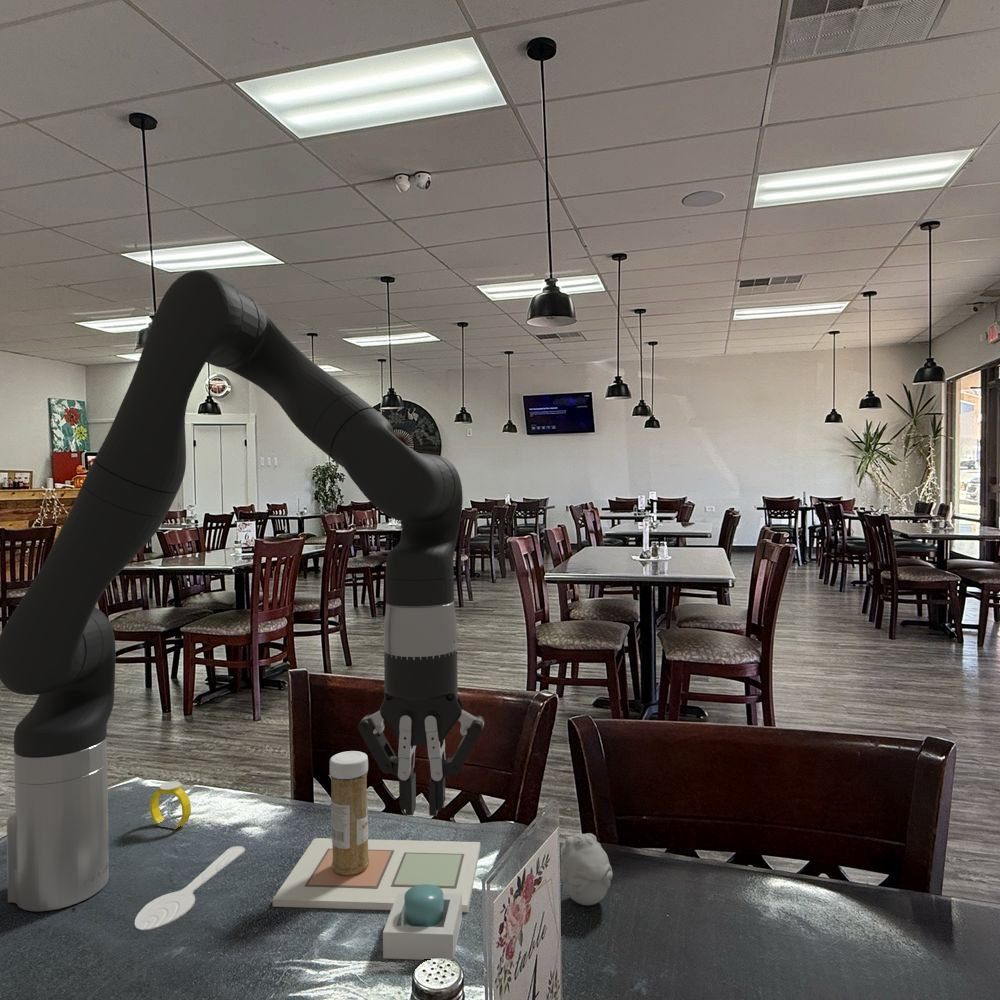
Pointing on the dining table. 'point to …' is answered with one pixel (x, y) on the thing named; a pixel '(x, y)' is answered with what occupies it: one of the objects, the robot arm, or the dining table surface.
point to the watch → (177, 791)
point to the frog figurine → (585, 869)
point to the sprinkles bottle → (349, 812)
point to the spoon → (181, 896)
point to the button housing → (422, 932)
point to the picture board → (380, 874)
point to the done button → (423, 905)
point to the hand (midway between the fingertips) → (422, 811)
